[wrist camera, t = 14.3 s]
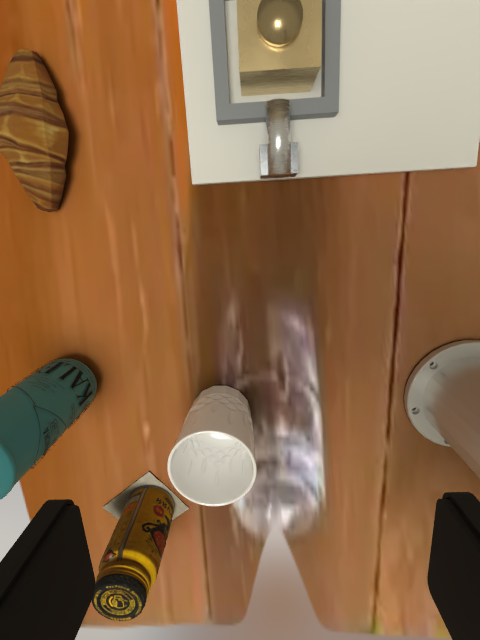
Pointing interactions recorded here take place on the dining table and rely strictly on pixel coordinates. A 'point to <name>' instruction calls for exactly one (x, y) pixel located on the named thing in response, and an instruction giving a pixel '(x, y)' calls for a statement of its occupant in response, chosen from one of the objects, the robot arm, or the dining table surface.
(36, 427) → the beverage bottle
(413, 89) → the board
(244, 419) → the white cup
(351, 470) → the dining table surface
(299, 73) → the block
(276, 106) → the shaft
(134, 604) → the condiment
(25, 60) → the croissant
